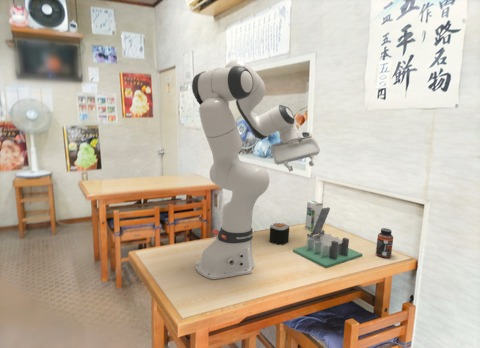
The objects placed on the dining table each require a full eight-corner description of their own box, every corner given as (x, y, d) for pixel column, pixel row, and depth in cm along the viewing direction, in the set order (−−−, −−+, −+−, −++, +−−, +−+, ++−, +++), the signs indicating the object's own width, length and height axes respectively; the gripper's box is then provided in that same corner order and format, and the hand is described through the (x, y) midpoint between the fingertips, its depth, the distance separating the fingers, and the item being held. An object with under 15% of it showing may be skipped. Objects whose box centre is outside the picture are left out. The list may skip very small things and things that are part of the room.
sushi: (291, 241, 155) (292, 224, 154) (281, 246, 149) (282, 228, 147) (276, 236, 160) (277, 220, 159) (266, 241, 154) (266, 224, 153)
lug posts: (334, 259, 134) (335, 242, 133) (330, 257, 136) (331, 241, 134) (347, 255, 139) (349, 239, 137) (343, 253, 140) (345, 237, 139)
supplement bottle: (388, 259, 138) (391, 233, 136) (373, 255, 142) (376, 229, 140) (393, 255, 143) (396, 229, 141) (378, 251, 147) (381, 226, 145)
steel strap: (323, 209, 140) (321, 208, 140) (313, 235, 145) (311, 233, 146) (330, 208, 142) (328, 207, 142) (320, 233, 147) (318, 232, 148)
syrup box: (304, 228, 174) (306, 200, 171) (314, 227, 176) (316, 199, 174) (311, 231, 168) (313, 203, 166) (321, 230, 171) (323, 202, 168)
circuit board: (325, 268, 129) (325, 265, 129) (292, 251, 143) (293, 249, 143) (362, 256, 141) (362, 253, 141) (328, 242, 156) (328, 239, 155)
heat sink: (325, 259, 134) (326, 244, 133) (302, 248, 144) (303, 234, 143) (348, 252, 142) (349, 237, 141) (324, 242, 152) (326, 228, 151)
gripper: (269, 142, 147) (279, 171, 142) (314, 131, 149) (325, 159, 144) (268, 148, 153) (277, 176, 148) (311, 138, 155) (321, 165, 150)
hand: (301, 168), depth 146 cm, fingers open, 8 cm apart
